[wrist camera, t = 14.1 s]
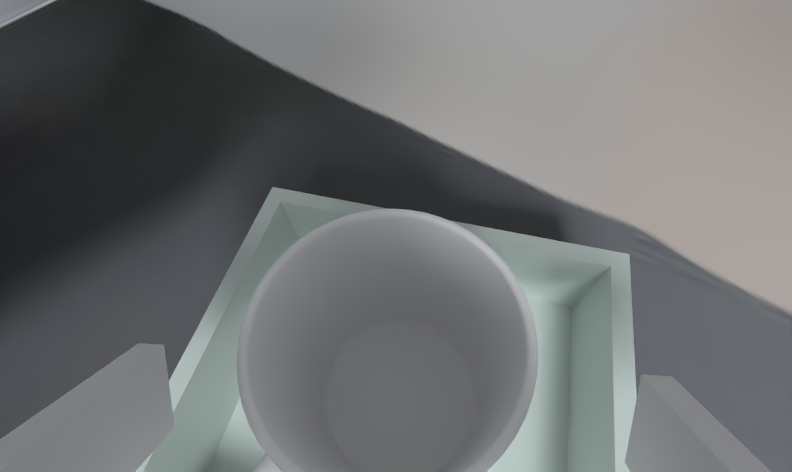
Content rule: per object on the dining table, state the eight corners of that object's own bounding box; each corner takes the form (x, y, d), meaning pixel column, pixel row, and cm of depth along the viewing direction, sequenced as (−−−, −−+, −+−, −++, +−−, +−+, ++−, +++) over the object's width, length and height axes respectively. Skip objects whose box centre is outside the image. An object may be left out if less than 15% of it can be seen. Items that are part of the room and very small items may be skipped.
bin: (150, 584, 17) (34, 633, 12) (301, 243, 26) (272, 186, 20) (571, 754, 14) (662, 919, 9) (581, 303, 23) (629, 254, 17)
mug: (351, 633, 15) (256, 855, 6) (224, 471, 18) (41, 468, 9) (516, 383, 19) (596, 308, 11) (391, 287, 23) (374, 169, 14)
